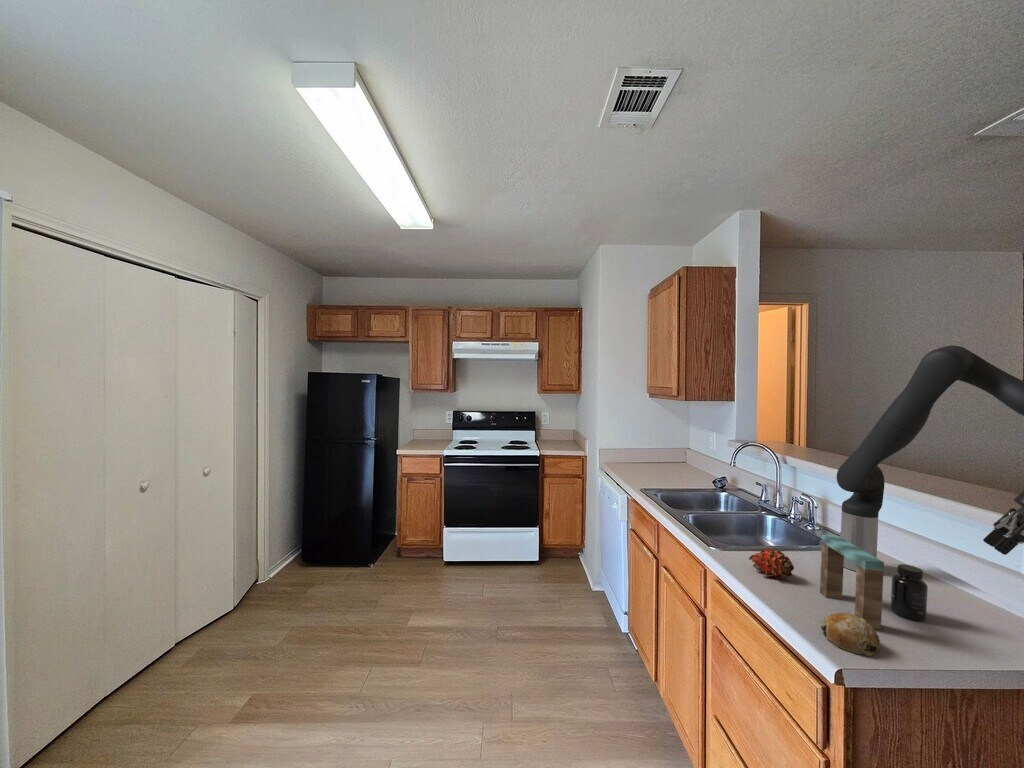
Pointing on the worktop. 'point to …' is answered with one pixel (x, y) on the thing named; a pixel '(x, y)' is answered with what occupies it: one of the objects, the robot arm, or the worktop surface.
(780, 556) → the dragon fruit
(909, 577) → the supplement bottle
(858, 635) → the bread roll
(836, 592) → the gate
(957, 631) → the worktop surface
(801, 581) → the worktop surface
